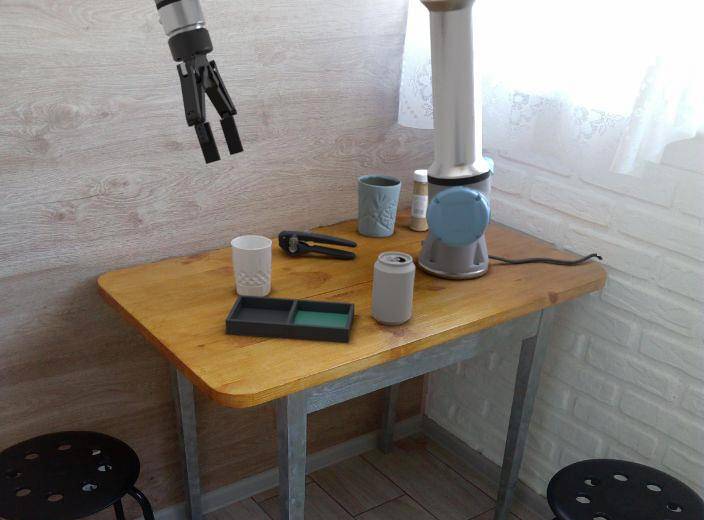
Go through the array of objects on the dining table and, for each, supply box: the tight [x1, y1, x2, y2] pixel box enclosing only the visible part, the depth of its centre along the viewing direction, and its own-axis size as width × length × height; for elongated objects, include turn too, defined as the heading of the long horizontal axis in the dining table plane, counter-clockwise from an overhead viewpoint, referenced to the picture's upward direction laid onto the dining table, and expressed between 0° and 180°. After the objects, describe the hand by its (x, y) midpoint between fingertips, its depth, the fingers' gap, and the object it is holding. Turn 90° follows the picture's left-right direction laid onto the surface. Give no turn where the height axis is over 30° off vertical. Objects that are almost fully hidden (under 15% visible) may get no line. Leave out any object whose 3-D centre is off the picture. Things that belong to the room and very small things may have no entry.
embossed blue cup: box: [357, 173, 403, 238], centre depth 181 cm, size 10×10×12 cm
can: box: [371, 251, 416, 326], centre depth 142 cm, size 8×8×12 cm
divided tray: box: [224, 294, 356, 344], centre depth 141 cm, size 22×11×3 cm, turn 84°
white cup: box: [230, 234, 273, 297], centre depth 150 cm, size 8×8×10 cm
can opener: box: [277, 229, 358, 260], centre depth 169 cm, size 18×7×6 cm, turn 83°
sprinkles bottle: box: [409, 169, 429, 232], centre depth 183 cm, size 5×5×14 cm
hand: (225, 157), depth 145 cm, fingers open, 13 cm apart
